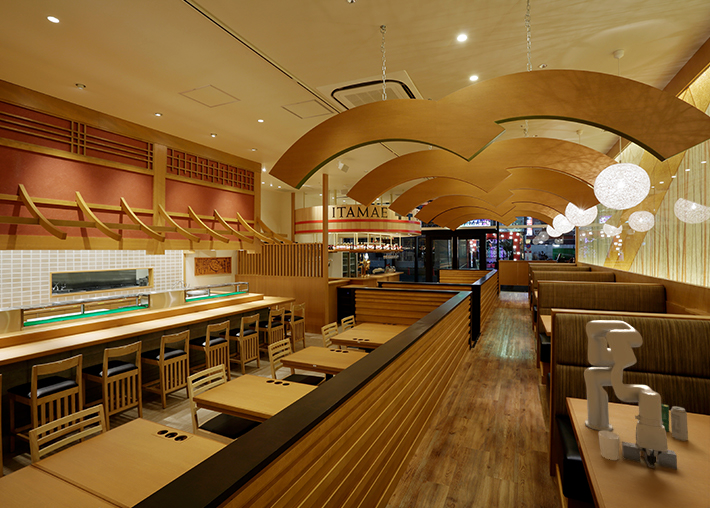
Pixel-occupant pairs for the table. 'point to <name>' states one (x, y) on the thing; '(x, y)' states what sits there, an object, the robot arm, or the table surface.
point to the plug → (646, 458)
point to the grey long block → (663, 459)
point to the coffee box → (665, 416)
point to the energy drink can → (679, 423)
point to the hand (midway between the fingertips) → (651, 463)
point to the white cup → (609, 444)
